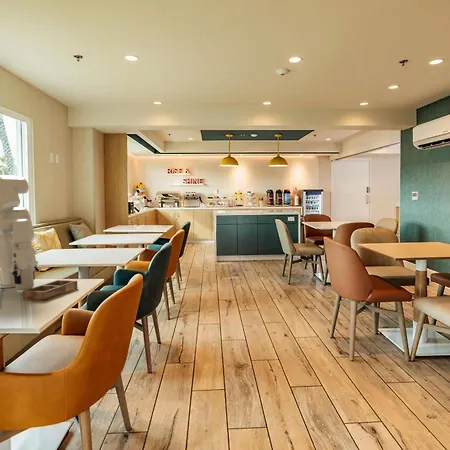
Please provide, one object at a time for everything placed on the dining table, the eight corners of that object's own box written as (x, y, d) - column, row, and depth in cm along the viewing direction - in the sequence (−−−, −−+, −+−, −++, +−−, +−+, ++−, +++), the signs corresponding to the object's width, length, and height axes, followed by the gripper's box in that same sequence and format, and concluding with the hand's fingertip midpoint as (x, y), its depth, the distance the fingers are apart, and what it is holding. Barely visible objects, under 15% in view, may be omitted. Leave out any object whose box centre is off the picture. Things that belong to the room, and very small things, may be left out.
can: (18, 287, 175) (17, 262, 174) (35, 285, 177) (34, 262, 176) (14, 291, 168) (12, 266, 167) (32, 290, 170) (30, 265, 169)
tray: (23, 299, 161) (22, 291, 161) (58, 287, 182) (57, 279, 182) (44, 301, 158) (44, 292, 158) (78, 288, 179) (77, 280, 179)
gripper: (13, 248, 161) (16, 287, 163) (43, 243, 178) (45, 277, 180) (0, 248, 163) (3, 285, 165) (30, 242, 180) (32, 276, 182)
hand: (24, 281), depth 172 cm, fingers closed on can, 7 cm apart
